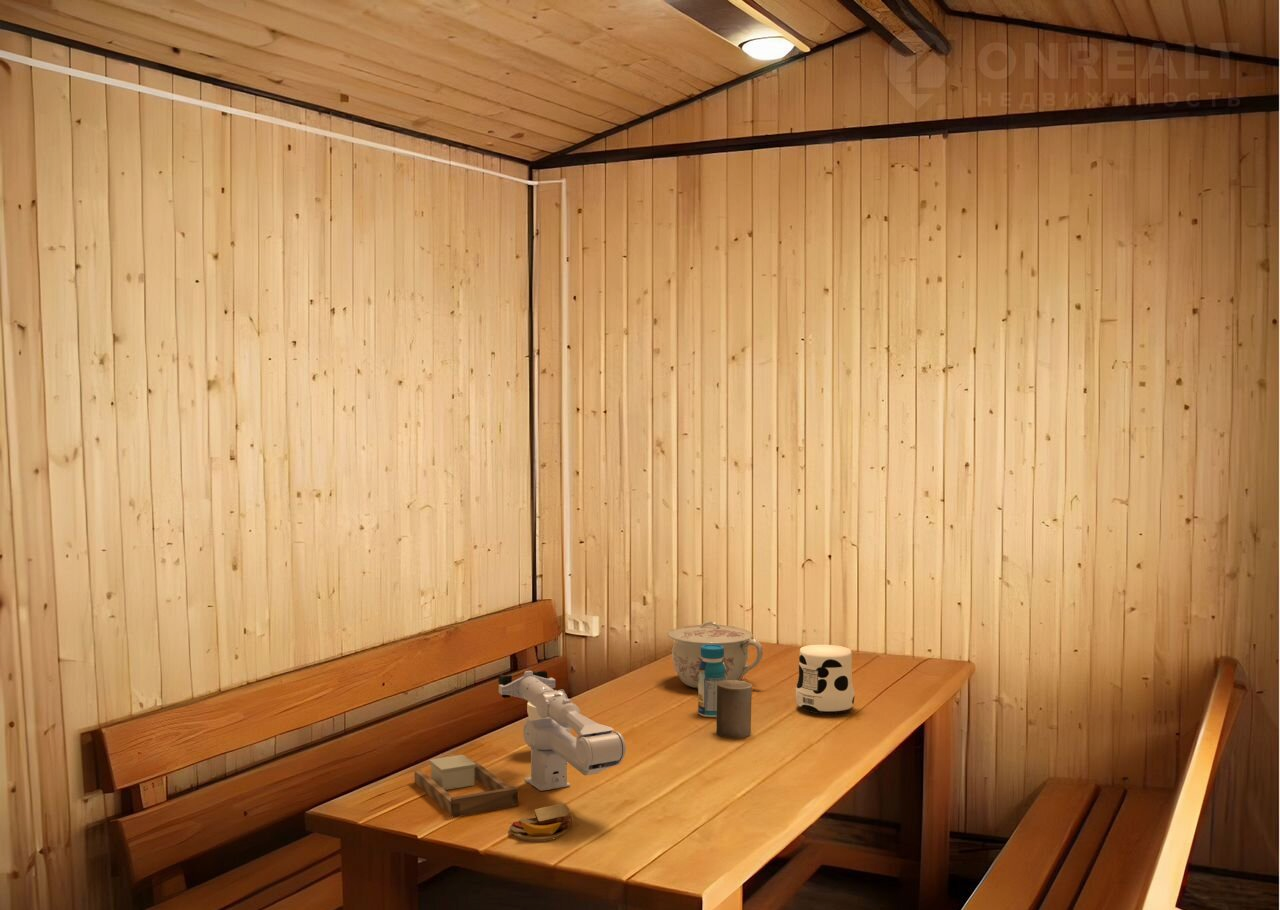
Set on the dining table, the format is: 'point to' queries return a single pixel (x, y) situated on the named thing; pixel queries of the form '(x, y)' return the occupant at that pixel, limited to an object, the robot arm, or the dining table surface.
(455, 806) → the bay
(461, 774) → the beige square block
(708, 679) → the beverage bottle
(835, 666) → the milk container
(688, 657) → the chamber pot
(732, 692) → the pillar candle
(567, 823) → the toy sandwich meal
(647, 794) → the dining table surface
